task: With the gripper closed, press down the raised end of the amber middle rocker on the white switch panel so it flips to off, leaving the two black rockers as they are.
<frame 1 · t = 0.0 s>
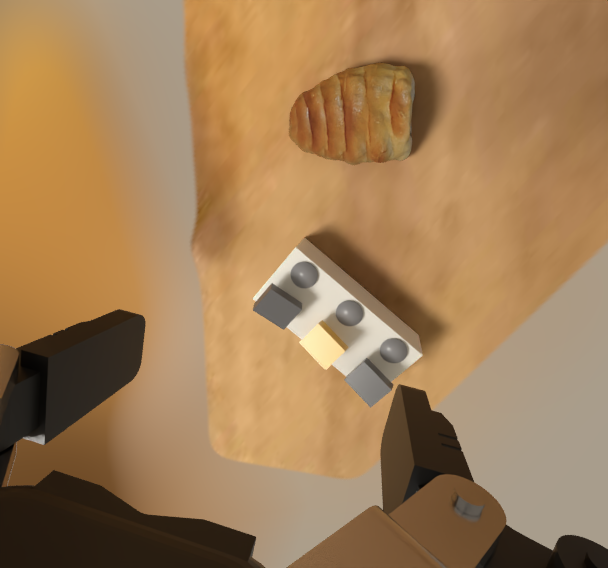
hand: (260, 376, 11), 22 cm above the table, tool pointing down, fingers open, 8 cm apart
white switch panel: (340, 309, 34), on the table
pastry: (360, 121, 29), on the table
rocker middle: (325, 343, 30), point 5 cm above the table, hinge at 14.0°
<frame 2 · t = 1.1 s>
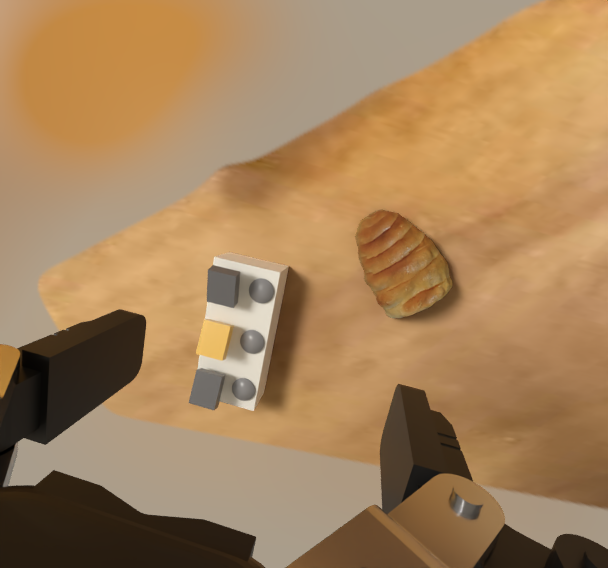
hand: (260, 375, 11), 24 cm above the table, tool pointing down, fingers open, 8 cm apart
white switch panel: (247, 324, 37), on the table
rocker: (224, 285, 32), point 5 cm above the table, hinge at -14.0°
pastry: (398, 266, 34), on the table
rocker middle: (216, 339, 33), point 5 cm above the table, hinge at 14.0°
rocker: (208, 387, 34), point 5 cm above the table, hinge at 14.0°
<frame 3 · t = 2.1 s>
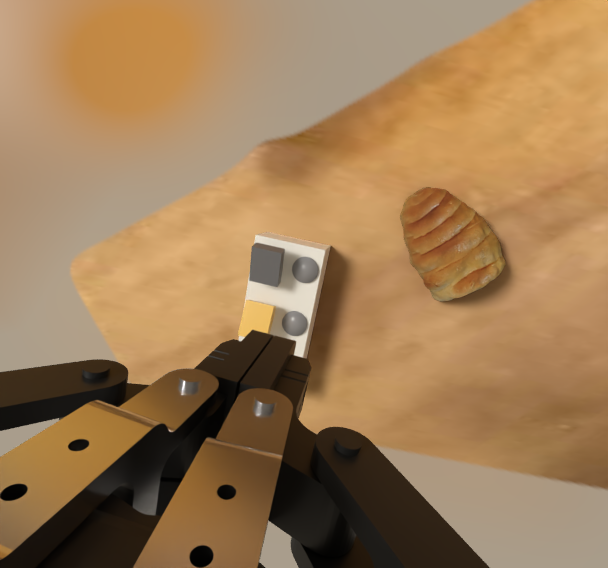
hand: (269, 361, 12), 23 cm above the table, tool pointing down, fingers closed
white switch panel: (285, 307, 36), on the table
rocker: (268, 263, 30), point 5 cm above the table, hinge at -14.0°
pastry: (444, 246, 33), on the table
rocker middle: (258, 320, 32), point 5 cm above the table, hinge at 14.0°
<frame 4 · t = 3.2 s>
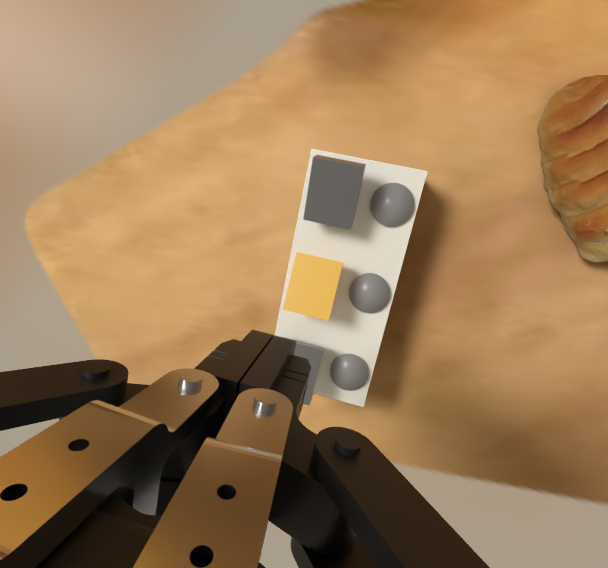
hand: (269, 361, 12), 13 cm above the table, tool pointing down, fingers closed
white switch panel: (343, 273, 24), on the table
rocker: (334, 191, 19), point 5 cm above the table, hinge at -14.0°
pastry: (598, 179, 21), on the table
rocker middle: (314, 286, 20), point 5 cm above the table, hinge at 14.0°
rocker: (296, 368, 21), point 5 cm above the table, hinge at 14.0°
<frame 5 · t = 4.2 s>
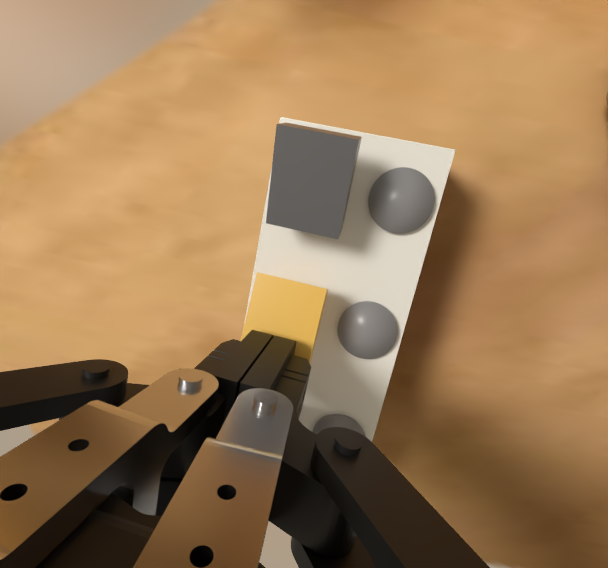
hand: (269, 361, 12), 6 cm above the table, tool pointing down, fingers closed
white switch panel: (332, 296, 18), on the table
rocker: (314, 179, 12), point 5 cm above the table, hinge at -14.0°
rocker middle: (284, 322, 13), point 5 cm above the table, hinge at 14.0°, touching gripper
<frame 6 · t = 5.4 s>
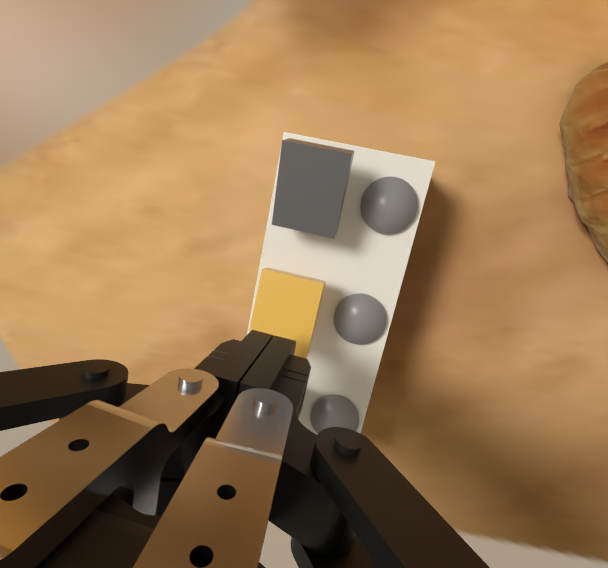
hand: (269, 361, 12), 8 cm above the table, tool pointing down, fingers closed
white switch panel: (328, 290, 20), on the table
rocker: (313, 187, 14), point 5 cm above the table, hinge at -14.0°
rocker middle: (287, 310, 15), point 5 cm above the table, hinge at 5.8°
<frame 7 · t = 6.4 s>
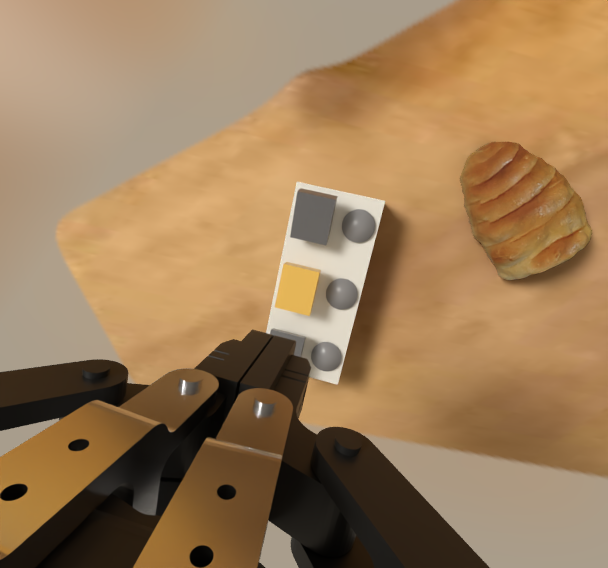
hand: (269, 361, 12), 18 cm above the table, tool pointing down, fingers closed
white switch panel: (323, 278, 30), on the table
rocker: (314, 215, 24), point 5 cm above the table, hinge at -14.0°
pastry: (510, 215, 27), on the table
rocker middle: (298, 287, 25), point 5 cm above the table, hinge at -0.2°
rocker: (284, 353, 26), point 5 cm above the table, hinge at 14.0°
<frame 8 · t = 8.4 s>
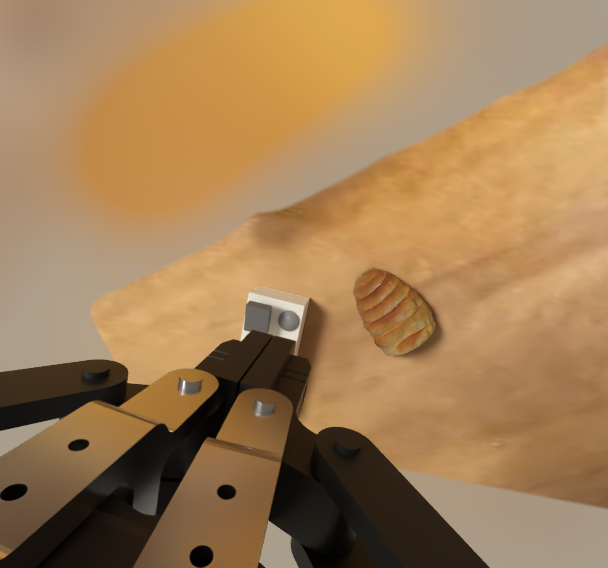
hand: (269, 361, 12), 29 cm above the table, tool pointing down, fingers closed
white switch panel: (273, 346, 44), on the table
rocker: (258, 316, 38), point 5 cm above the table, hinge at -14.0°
pastry: (391, 311, 41), on the table
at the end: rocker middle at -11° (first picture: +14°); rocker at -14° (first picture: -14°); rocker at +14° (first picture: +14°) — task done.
